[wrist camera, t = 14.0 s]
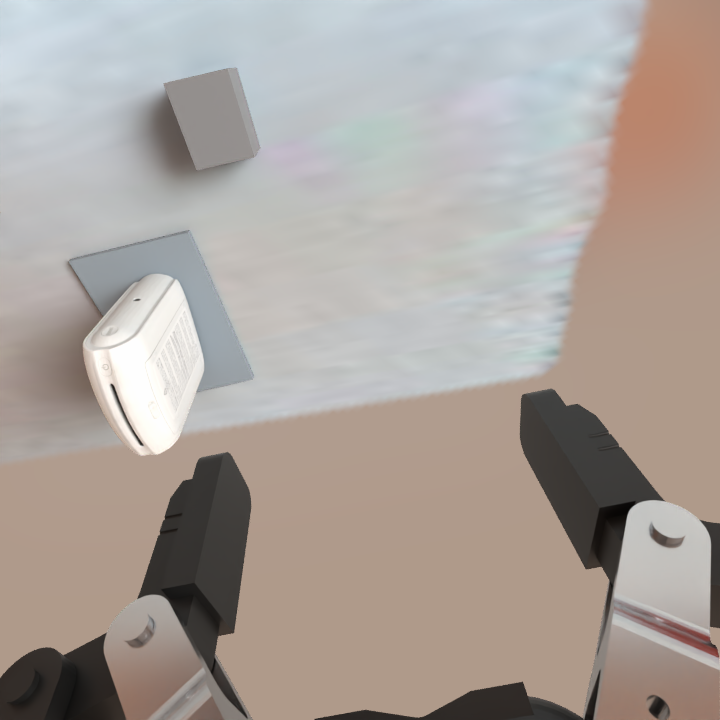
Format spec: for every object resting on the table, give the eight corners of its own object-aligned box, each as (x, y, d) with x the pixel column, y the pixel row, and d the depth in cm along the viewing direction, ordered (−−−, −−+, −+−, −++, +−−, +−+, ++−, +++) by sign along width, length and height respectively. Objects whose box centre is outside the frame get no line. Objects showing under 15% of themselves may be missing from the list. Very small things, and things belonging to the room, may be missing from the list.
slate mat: (71, 258, 35) (68, 261, 35) (189, 230, 35) (187, 232, 34) (158, 397, 44) (156, 401, 43) (253, 375, 43) (253, 379, 43)
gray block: (179, 81, 30) (163, 83, 26) (237, 67, 29) (227, 68, 26) (208, 159, 32) (196, 170, 29) (260, 147, 32) (254, 157, 29)
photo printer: (127, 273, 36) (53, 355, 26) (180, 268, 36) (127, 349, 26) (166, 373, 42) (118, 473, 32) (211, 369, 42) (178, 467, 32)
